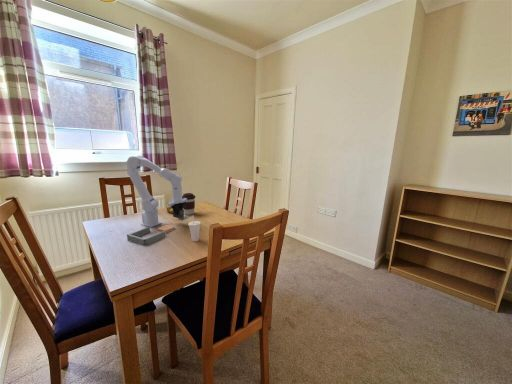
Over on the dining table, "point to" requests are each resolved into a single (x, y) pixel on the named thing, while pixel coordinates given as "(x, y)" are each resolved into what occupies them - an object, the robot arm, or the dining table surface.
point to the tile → (166, 228)
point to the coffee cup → (189, 203)
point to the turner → (181, 215)
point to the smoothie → (194, 229)
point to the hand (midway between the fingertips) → (178, 214)
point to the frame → (135, 238)
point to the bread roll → (169, 209)
